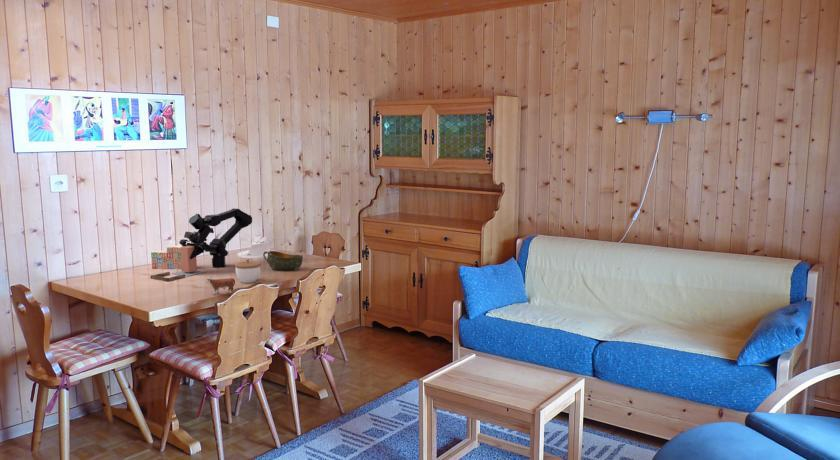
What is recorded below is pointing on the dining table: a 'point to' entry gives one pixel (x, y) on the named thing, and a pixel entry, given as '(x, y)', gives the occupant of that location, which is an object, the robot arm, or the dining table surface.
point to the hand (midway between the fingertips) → (186, 258)
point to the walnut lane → (159, 276)
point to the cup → (283, 261)
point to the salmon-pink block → (188, 259)
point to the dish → (257, 249)
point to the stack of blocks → (167, 258)
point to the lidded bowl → (248, 271)
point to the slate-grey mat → (189, 273)
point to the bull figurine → (221, 284)
